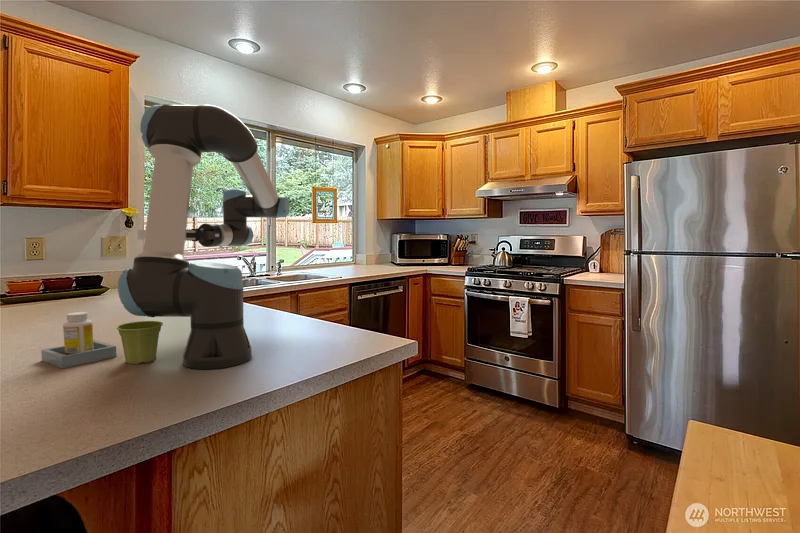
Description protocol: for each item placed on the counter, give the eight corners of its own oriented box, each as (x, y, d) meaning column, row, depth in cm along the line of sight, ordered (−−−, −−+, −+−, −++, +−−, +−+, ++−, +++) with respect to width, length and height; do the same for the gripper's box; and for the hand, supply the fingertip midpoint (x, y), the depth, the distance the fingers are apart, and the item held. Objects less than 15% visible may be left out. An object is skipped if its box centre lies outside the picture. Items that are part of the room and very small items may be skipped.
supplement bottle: (92, 350, 104) (90, 310, 103) (95, 355, 100) (93, 313, 99) (63, 354, 100) (61, 313, 99) (66, 359, 96) (63, 316, 95)
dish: (116, 356, 102) (116, 346, 102) (62, 368, 92) (61, 357, 92) (95, 350, 107) (94, 340, 107) (41, 360, 98) (41, 349, 98)
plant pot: (172, 355, 103) (171, 321, 102) (145, 367, 94) (144, 329, 93) (137, 354, 104) (136, 320, 103) (107, 365, 95) (106, 328, 94)
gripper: (245, 247, 131) (191, 249, 111) (185, 246, 139) (124, 247, 119) (245, 223, 130) (190, 221, 110) (184, 223, 139) (123, 221, 119)
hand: (156, 234), depth 115 cm, fingers open, 13 cm apart
